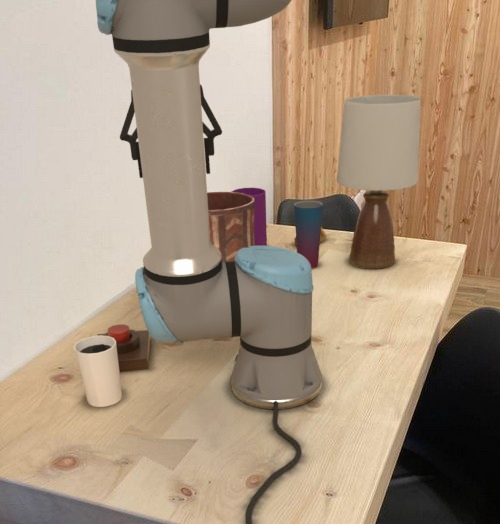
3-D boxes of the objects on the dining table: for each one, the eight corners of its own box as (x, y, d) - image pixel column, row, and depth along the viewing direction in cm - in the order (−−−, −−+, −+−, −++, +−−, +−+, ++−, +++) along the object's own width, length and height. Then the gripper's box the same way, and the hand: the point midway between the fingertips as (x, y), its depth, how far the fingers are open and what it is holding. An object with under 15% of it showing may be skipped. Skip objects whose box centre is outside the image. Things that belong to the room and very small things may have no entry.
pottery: (206, 260, 164) (201, 188, 155) (268, 267, 157) (266, 193, 148) (170, 283, 151) (162, 207, 141) (236, 293, 144) (232, 213, 135)
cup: (326, 262, 159) (327, 202, 151) (313, 271, 154) (314, 209, 146) (302, 258, 162) (302, 199, 154) (289, 267, 157) (288, 205, 150)
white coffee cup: (91, 387, 110) (81, 335, 105) (129, 388, 109) (121, 335, 104) (79, 407, 104) (67, 353, 99) (118, 408, 103) (109, 354, 98)
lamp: (322, 255, 164) (325, 98, 144) (387, 246, 168) (398, 92, 149) (354, 279, 148) (363, 107, 129) (424, 268, 153) (443, 100, 134)
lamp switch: (130, 342, 116) (128, 332, 115) (108, 344, 116) (106, 334, 115) (131, 333, 119) (130, 323, 118) (110, 335, 119) (108, 325, 118)
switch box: (148, 369, 115) (145, 349, 113) (92, 373, 114) (88, 353, 112) (150, 340, 125) (147, 321, 123) (99, 344, 124) (95, 325, 122)
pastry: (308, 249, 168) (308, 235, 167) (287, 245, 172) (287, 231, 170) (328, 240, 174) (328, 226, 172) (308, 236, 178) (308, 222, 176)
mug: (271, 244, 173) (269, 187, 165) (255, 263, 161) (253, 203, 153) (239, 242, 176) (236, 186, 168) (220, 261, 163) (217, 201, 155)
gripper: (228, 53, 124) (234, 167, 135) (99, 59, 122) (115, 174, 133) (231, 55, 117) (236, 174, 128) (95, 61, 116) (112, 182, 127)
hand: (175, 174), depth 131 cm, fingers open, 13 cm apart
